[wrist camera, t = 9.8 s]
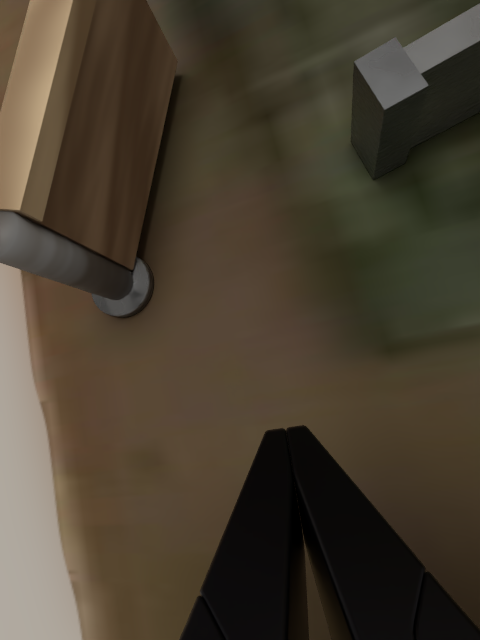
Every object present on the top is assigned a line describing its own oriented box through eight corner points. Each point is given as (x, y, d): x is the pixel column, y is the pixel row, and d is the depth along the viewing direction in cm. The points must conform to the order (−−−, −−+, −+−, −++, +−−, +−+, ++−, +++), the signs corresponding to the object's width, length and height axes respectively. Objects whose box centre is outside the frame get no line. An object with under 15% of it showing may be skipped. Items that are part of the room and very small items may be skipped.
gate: (181, 61, 26) (98, -102, 17) (129, 302, 24) (7, 259, 15) (149, 63, 26) (54, -92, 18) (97, 297, 25) (-38, 254, 16)
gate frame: (592, 79, 19) (697, -45, 14) (108, 327, 25) (40, 313, 19) (544, 23, 20) (622, -114, 15) (91, 273, 26) (22, 244, 21)
